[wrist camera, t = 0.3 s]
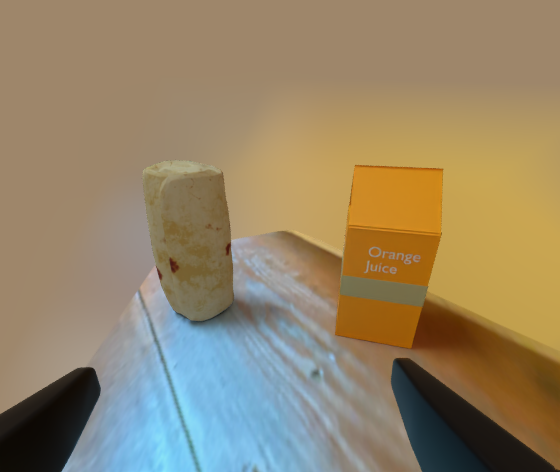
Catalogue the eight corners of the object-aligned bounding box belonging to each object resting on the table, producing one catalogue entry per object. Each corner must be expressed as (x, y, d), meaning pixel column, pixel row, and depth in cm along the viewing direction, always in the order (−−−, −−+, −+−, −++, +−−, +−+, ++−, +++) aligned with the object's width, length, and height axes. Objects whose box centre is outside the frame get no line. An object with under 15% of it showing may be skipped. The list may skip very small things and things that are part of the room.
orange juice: (411, 349, 30) (458, 175, 23) (334, 335, 32) (353, 170, 25) (400, 308, 37) (433, 163, 30) (337, 298, 39) (353, 160, 32)
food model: (237, 293, 40) (228, 158, 32) (233, 324, 34) (221, 166, 26) (171, 296, 39) (146, 158, 32) (155, 327, 33) (119, 166, 26)
